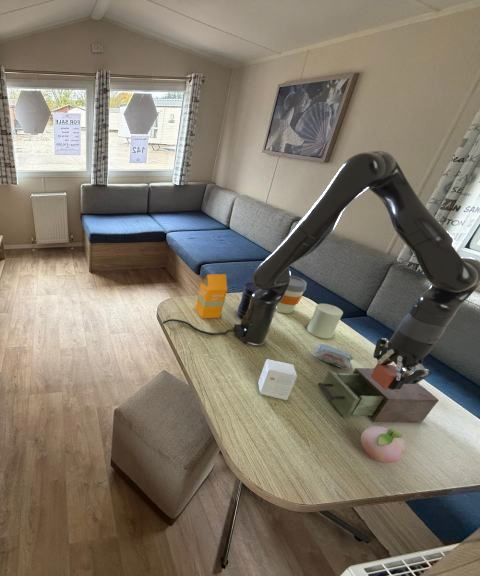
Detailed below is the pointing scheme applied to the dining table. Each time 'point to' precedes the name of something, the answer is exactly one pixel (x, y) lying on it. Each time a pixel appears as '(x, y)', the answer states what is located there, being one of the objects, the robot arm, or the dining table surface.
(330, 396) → the drawer
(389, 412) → the cabinet
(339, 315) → the can
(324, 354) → the packaged food
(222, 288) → the orange juice
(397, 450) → the decorative fruit
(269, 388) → the small box
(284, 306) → the reusable coffee cup
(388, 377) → the block
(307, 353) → the dining table surface
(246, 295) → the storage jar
